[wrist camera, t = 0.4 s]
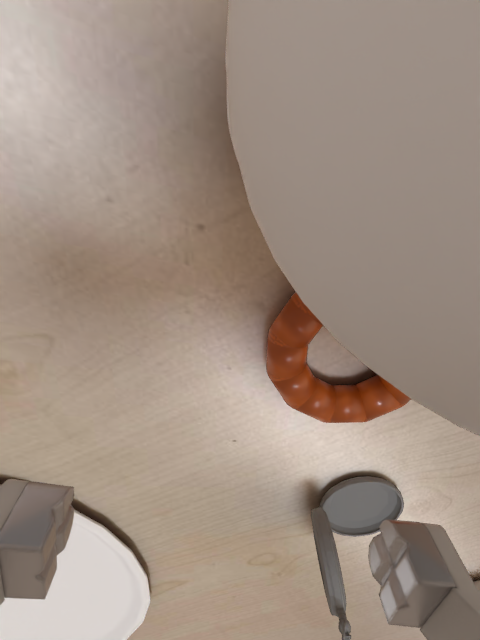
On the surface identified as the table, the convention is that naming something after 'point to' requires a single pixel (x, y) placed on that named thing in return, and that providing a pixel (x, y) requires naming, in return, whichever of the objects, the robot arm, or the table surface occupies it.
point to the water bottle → (370, 177)
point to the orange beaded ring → (310, 392)
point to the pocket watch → (350, 529)
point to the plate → (84, 592)
